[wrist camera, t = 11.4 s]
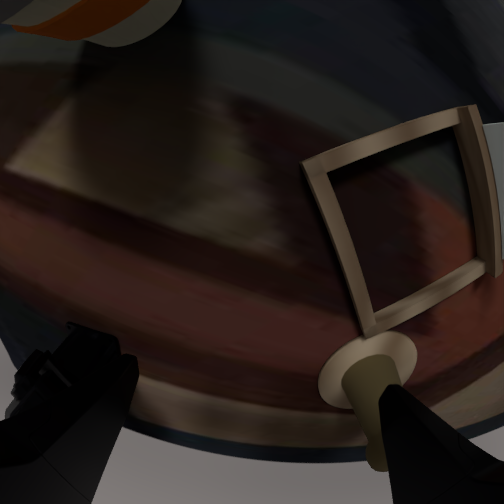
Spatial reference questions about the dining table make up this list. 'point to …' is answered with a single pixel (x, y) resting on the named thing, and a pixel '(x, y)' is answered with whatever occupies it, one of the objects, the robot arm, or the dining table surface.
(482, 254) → the cold frame
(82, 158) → the dining table surface
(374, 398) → the pepper shaker
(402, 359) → the disc
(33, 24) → the reusable coffee cup
